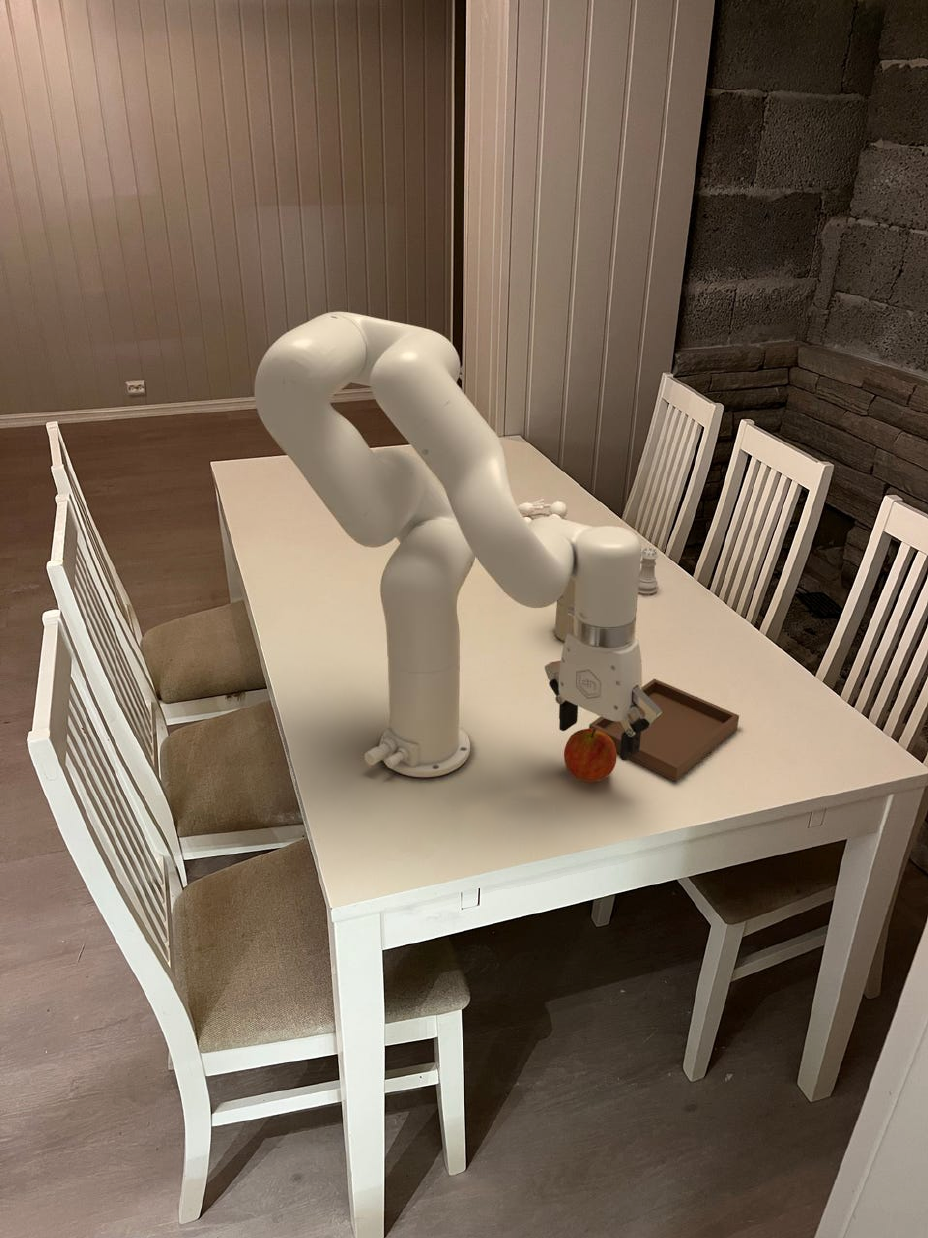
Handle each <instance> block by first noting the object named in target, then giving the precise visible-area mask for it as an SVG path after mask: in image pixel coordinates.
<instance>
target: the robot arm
mask: <svg viewBox="0 0 928 1238" xmlns="http://www.w3.org/2000/svg"><path fill="white" fill-rule="evenodd" d="M460 373H461V361H460V356H459V354H458V352H457V350H456V348H455V346H454V345H453V343H452V342H451V341H449V339H448V338H446V337H445V336H444V335H443V334H440V333H439V332H437V331H434V330H432V329H428V328H426V327H425V328H424V327H421V326H416V325H412V324H407V323H402V322H397V321H392V320H387V319H383V318H377V317H373V316H368V315H364V314H359V313H354V312H346V311H332V312H326V313H323V314H320V315H318V316H316V317H314V318H312V319H310V320H308V321H307V322H305V323H303V324H300V325H298V326H296V327H294V328H293V329H291V330H289V331H287V332H285V333H284V334H283V335H282V336H280V337H279V338H278V339H276V341H275V342H273V344H272V345H270V346H269V348H268V349H267V351H266V352H265V354H263V357H262V359H261V361H260V363H259V365H258V368H257V371H256V375H255V379H254V390H253V391H254V402H255V406H256V410H257V413H258V416H259V418H260V420H261V422H262V424H263V426H264V428H265V430H266V431H267V432H268V434H269V435H270V436H271V437H272V439H273V441H274V442H275V443H276V444H277V445H278V446H279V447H280V449H281V450H282V451H283V452H284V453H285V454H286V455H287V456H288V458H289V459H290V460H291V461H292V462H293V464H294V465H295V466H296V467H297V469H298V471H299V472H300V473H301V474H302V476H303V477H304V479H305V480H306V481H307V483H308V484H309V486H310V487H311V489H312V490H313V492H315V494H316V495H317V497H318V498H319V499H320V500H321V502H322V503H323V504H324V506H325V507H326V508H327V510H328V511H329V513H330V514H331V515H332V516H333V518H334V519H335V520H336V522H337V523H338V524H339V526H340V527H341V529H343V531H344V532H345V533H346V534H347V536H349V537H350V539H352V540H353V541H354V542H355V543H357V544H359V545H361V546H363V547H365V548H371V549H372V548H373V549H375V548H380V547H383V546H386V545H388V544H389V543H391V542H392V541H394V539H396V540H397V541H398V543H399V545H398V546H397V547H396V549H395V550H394V551H393V553H392V554H391V556H390V557H389V559H388V561H387V562H386V564H385V567H384V569H383V571H382V575H381V578H380V585H379V591H380V601H381V607H382V612H383V616H384V622H385V631H386V632H385V633H386V654H387V675H388V677H387V678H388V679H387V681H388V708H389V709H388V710H389V727H388V728H386V729H384V733H383V735H381V737H380V740H379V745H378V746H375V747H373V748H371V749H369V750H368V751H366V752H365V753H364V754H363V759H364V761H365V763H366V764H367V765H369V767H370V766H371V767H372V766H374V765H376V764H377V763H379V762H380V761H383V763H384V764H385V766H386V767H387V768H389V769H391V770H392V771H394V772H397V773H398V774H402V775H405V776H408V777H413V778H414V777H415V778H433V777H440V776H443V775H446V774H450V773H451V772H453V771H456V770H457V769H458V768H460V767H461V766H463V764H465V763H466V761H467V760H468V758H469V756H470V753H471V741H470V738H469V736H468V734H467V733H466V731H465V730H464V729H463V728H462V727H460V689H461V687H460V684H461V681H460V680H461V632H460V621H459V617H458V598H459V594H460V591H461V589H462V587H463V585H464V583H465V581H466V579H467V577H468V575H469V573H470V572H471V570H472V567H473V565H474V563H475V560H476V559H477V561H478V562H479V564H480V565H481V566H482V568H483V569H484V570H485V571H486V573H488V575H489V576H490V577H491V579H493V581H494V582H495V583H496V584H497V585H498V587H499V588H500V589H501V590H502V591H503V592H504V593H505V594H506V595H507V596H508V597H509V598H511V599H512V600H513V601H515V602H516V603H518V604H520V605H521V606H524V607H527V608H531V609H543V608H547V607H550V606H552V605H553V604H554V603H557V600H559V598H560V597H561V596H562V595H563V593H564V592H565V590H566V588H567V585H568V583H569V580H570V578H571V579H573V580H574V581H575V606H574V605H571V606H570V607H569V609H568V615H571V616H572V617H573V618H574V624H573V627H571V628H570V629H569V630H568V633H567V636H566V639H565V641H564V644H563V647H562V652H561V657H560V660H556V661H551V662H549V663H547V664H546V665H544V671H545V674H546V677H547V679H548V680H549V682H548V684H549V687H550V689H551V690H552V691H553V694H554V695H555V698H554V699H555V703H557V704H558V705H559V706H558V707H559V709H558V720H559V722H558V723H559V725H558V728H559V731H561V732H566V731H568V730H569V729H570V728H571V727H573V726H574V725H575V724H577V723H578V719H579V718H578V717H579V716H578V715H579V708H581V709H584V710H586V711H588V712H590V713H593V714H594V715H597V716H599V717H604V718H606V719H608V720H611V721H615V722H619V721H620V723H621V725H622V726H623V728H624V730H625V732H624V733H623V734H622V735H621V748H620V754H619V758H620V760H622V761H623V762H624V761H627V760H629V759H628V758H629V757H630V756H632V755H633V754H636V753H637V752H638V750H639V748H640V738H641V731H643V730H645V729H647V728H648V727H649V726H651V725H652V724H653V723H654V722H655V721H656V719H657V718H658V717H659V716H660V715H661V713H662V710H661V709H660V708H659V707H658V706H657V705H656V704H655V703H654V702H653V701H652V700H651V699H650V698H649V697H648V696H647V695H646V694H645V693H644V692H643V691H642V687H643V667H642V654H641V647H640V642H639V639H638V638H636V629H637V628H636V626H637V613H638V601H639V599H638V598H639V593H638V588H639V574H640V570H641V563H640V562H641V561H642V557H641V553H642V544H641V540H640V538H639V537H638V535H637V534H636V533H634V532H633V531H631V530H630V529H628V528H625V527H621V526H615V525H600V526H592V525H587V524H583V523H580V522H575V521H572V520H568V519H565V518H562V519H561V518H556V517H549V516H540V517H537V518H535V519H531V520H532V521H531V522H529V523H528V524H527V522H526V521H525V519H524V518H523V517H524V515H523V514H521V513H520V511H519V509H518V507H517V506H518V505H517V502H516V501H515V498H514V496H513V493H512V489H511V486H510V482H509V477H508V470H507V461H506V455H505V451H504V447H503V443H502V442H501V439H500V438H499V436H498V435H497V433H496V432H495V431H494V430H493V428H492V427H491V426H490V425H489V423H488V422H487V421H486V420H485V418H484V417H483V416H482V415H481V414H480V412H479V411H478V410H477V408H476V407H475V406H474V405H473V403H472V402H471V400H470V399H469V398H468V396H467V395H466V394H465V393H464V392H463V390H462V389H461V387H460V386H459V384H458V383H457V382H458V380H459V378H460ZM350 383H353V384H358V385H363V386H367V387H370V390H371V393H372V395H373V398H374V399H375V401H376V403H377V404H378V406H379V407H380V409H381V410H382V411H383V412H384V414H385V415H386V416H387V418H388V419H389V420H390V421H391V423H392V424H393V425H394V427H396V429H397V430H398V431H399V432H400V434H401V435H402V436H403V437H404V438H405V440H406V441H407V442H408V444H409V445H410V446H411V447H412V449H413V450H414V451H415V453H416V454H417V455H418V456H419V457H420V458H421V460H422V461H423V462H424V463H425V464H424V463H423V462H422V461H420V460H419V459H418V458H417V457H415V456H414V455H413V454H411V453H410V452H407V451H405V450H403V449H399V448H393V447H385V448H380V449H377V450H375V451H373V450H372V449H371V448H370V446H369V445H368V443H367V442H366V441H365V439H364V438H363V436H362V435H361V433H360V432H359V430H358V429H357V428H356V427H355V426H354V424H352V422H350V420H348V418H345V416H343V415H342V414H340V413H339V412H338V411H337V410H336V409H334V407H333V406H332V405H331V401H332V398H333V396H334V395H335V394H336V393H338V392H339V391H342V389H344V388H345V387H346V386H348V385H349V384H350ZM425 465H426V466H427V467H428V468H427V467H426V466H425ZM430 471H431V472H430ZM433 475H434V476H435V477H434V476H433ZM436 479H437V480H438V481H439V483H440V484H441V485H442V487H443V488H442V487H441V486H440V484H439V483H438V482H437V480H436ZM443 489H444V490H443ZM638 707H640V708H641V709H642V710H643V711H644V713H645V716H644V718H643V717H642V715H641V714H640V712H639V710H638ZM628 714H630V715H631V717H632V719H633V721H634V723H631V721H630V719H629V717H628V716H627V715H628Z"/></svg>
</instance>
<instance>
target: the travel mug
mask: <svg viewBox="0 0 928 1238" xmlns="http://www.w3.org/2000/svg"><path fill="white" fill-rule="evenodd" d="M571 605H574V606H575V581H574V580H573V579H571V578H570V580H569V583H568V585H567V588H566V590H565V592H564V593H563V595H562V596H561V597H560V598H559V600H557V601H556V607H555V609H556V610H555V623H554V634H555V636H556V637H557V638H558V639H559V640H561V641H563V642H565V639H566V636H567V633H568V630H569V629H570V628H571V627H573V624H574V618H573V617H572V616H571V615H568V609H569V607H570V606H571Z"/></svg>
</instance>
